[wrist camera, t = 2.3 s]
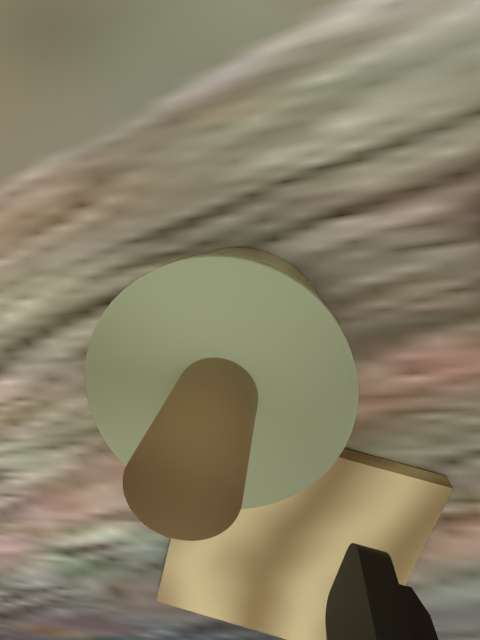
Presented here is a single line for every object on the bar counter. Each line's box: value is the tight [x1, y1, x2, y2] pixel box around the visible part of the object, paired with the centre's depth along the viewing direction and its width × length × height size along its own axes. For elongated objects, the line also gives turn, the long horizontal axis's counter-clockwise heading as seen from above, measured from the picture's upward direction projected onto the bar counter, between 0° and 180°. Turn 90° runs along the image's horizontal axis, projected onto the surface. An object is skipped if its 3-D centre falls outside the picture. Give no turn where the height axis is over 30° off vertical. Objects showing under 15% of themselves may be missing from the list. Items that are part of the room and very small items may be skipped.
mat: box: [156, 448, 453, 640], centre depth 24 cm, size 14×14×1 cm
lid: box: [85, 254, 359, 541], centre depth 13 cm, size 10×10×6 cm
